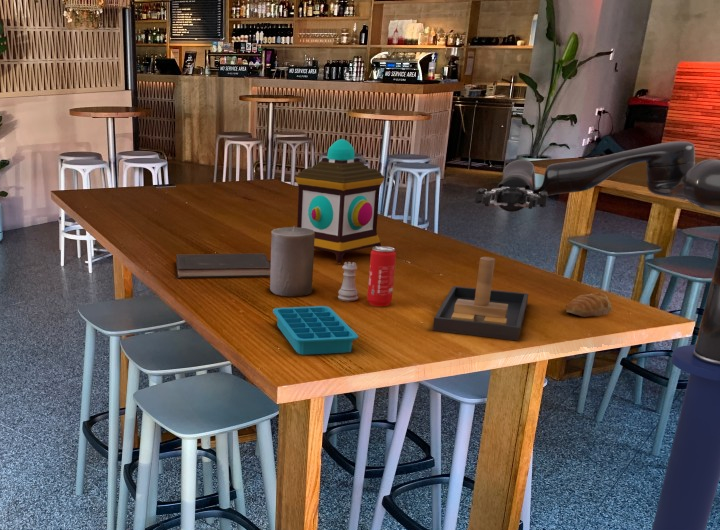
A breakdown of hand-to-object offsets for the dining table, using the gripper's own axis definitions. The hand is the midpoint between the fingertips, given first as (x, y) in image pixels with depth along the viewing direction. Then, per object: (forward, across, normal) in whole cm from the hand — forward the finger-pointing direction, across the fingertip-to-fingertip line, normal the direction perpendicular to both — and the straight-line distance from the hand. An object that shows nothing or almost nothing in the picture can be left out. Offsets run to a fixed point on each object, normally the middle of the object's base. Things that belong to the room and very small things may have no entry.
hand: (508, 202), depth 163 cm
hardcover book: (-4, +66, -22) cm, 69 cm away
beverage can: (+10, +23, -22) cm, 33 cm away
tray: (+12, +1, -22) cm, 25 cm away
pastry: (0, -18, -22) cm, 28 cm away
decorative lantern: (-32, +44, -21) cm, 59 cm away
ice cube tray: (+38, +29, -22) cm, 53 cm away
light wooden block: (+21, +4, -21) cm, 30 cm away
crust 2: (+21, -2, -21) cm, 30 cm away
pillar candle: (+8, +43, -22) cm, 49 cm away
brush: (+18, +1, -21) cm, 28 cm away
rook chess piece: (+10, +30, -22) cm, 38 cm away
